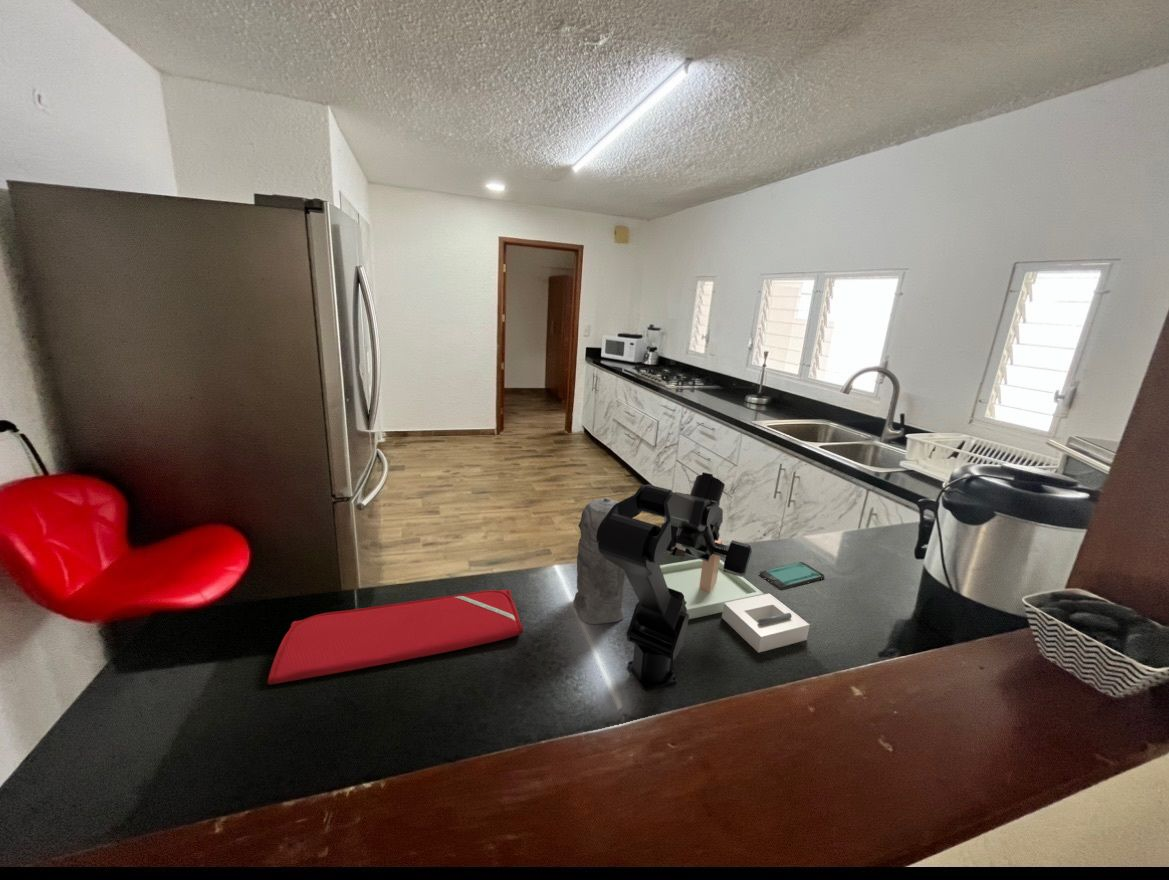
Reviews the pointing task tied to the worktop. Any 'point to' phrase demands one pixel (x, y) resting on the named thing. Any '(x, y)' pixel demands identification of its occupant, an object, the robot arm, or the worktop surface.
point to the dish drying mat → (393, 633)
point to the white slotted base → (765, 622)
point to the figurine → (597, 571)
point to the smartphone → (791, 575)
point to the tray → (701, 601)
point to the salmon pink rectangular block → (710, 571)
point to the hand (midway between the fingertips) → (706, 561)
